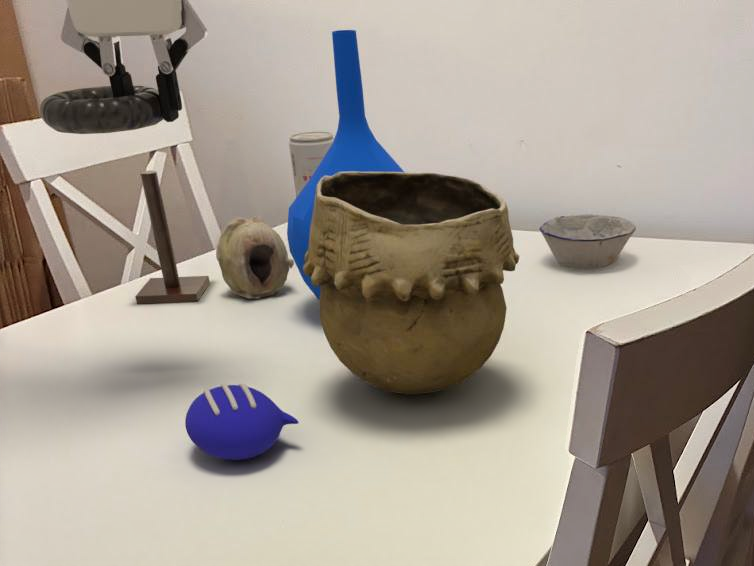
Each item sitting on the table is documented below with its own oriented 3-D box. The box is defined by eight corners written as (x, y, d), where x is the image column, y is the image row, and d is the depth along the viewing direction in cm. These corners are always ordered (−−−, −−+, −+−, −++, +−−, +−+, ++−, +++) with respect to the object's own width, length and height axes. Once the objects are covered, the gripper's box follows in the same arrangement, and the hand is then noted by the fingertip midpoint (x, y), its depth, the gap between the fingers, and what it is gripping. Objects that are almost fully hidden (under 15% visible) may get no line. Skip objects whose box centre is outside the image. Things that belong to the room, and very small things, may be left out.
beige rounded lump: (230, 313, 132) (190, 241, 127) (268, 285, 137) (231, 214, 132) (276, 301, 126) (236, 225, 121) (315, 272, 131) (278, 198, 126)
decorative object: (288, 393, 85) (174, 423, 85) (307, 454, 89) (197, 484, 88) (280, 356, 94) (177, 383, 93) (298, 413, 97) (198, 439, 96)
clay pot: (519, 347, 111) (517, 154, 99) (521, 427, 94) (519, 204, 82) (335, 352, 112) (312, 160, 100) (304, 432, 95) (272, 212, 83)
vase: (441, 328, 117) (424, 36, 100) (288, 333, 118) (244, 43, 100) (444, 281, 132) (430, 20, 115) (308, 286, 132) (273, 26, 115)
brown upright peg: (136, 304, 129) (107, 180, 120) (151, 285, 136) (125, 166, 127) (197, 301, 129) (172, 177, 120) (209, 283, 135) (187, 164, 127)
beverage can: (304, 240, 152) (290, 132, 143) (347, 238, 152) (335, 130, 143) (301, 252, 146) (286, 140, 138) (345, 249, 147) (333, 138, 138)
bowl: (522, 266, 136) (522, 229, 133) (568, 244, 145) (568, 209, 142) (605, 279, 130) (607, 241, 127) (648, 255, 139) (651, 218, 136)
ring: (28, 138, 91) (19, 104, 89) (69, 117, 100) (61, 86, 99) (153, 133, 91) (146, 99, 89) (182, 112, 100) (176, 81, 98)
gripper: (208, -121, 87) (243, 111, 98) (24, -114, 88) (79, 117, 98) (189, -124, 81) (229, 124, 92) (-9, -116, 81) (54, 130, 92)
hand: (151, 118), depth 95 cm, fingers closed on ring, 3 cm apart
